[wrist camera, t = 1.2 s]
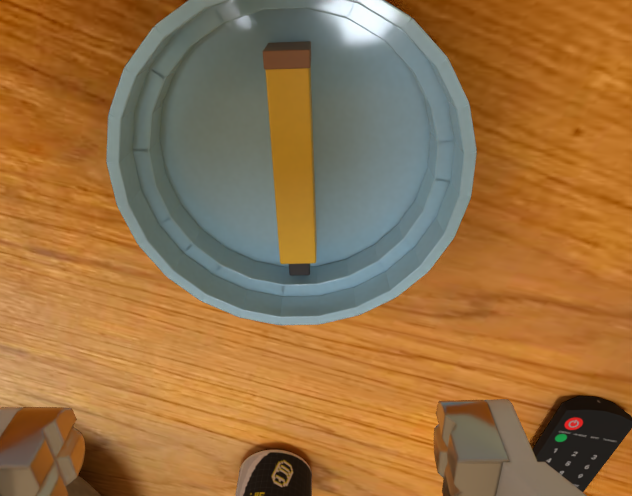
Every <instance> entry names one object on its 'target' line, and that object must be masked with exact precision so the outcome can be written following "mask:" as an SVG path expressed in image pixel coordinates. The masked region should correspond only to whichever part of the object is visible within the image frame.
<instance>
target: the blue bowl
mask: <svg viewBox="0 0 632 496" xmlns="http://www.w3.org/2000/svg"><path fill="white" fill-rule="evenodd" d="M307 41H310V42H311V90H312V119H313V148H314V177H315V205H316V234H317V253H316V263H310V275H294V276H291V275H289V264H281V263H280V255H279V242H278V229H277V216H276V203H275V190H274V177H273V164H272V150H271V137H270V124H269V111H268V98H267V85H266V72H265V69H264V65H263V50H264V49H265V47H266V46H267V44H268V43H276V42H307ZM476 151H477V148H476V142H475V135H474V129H473V122H472V116H471V109H470V105H469V101H468V99H467V97H466V95H465V93H464V91H463V88H462V86H461V84H460V82H459V80H458V78H457V76H456V74H455V71H454V69H453V67H452V65H451V63H450V61H449V59H448V58H447V56H446V55H445V54H444V52H443V51H442V50H441V49H440V48H439V47H438V46H437V45H436V44H435V42H434V41H433V40H432V39H431V38H430V37H429V36H428V35H427V33H426V32H425V31H424V30H423V29H422V28H421V27H420V26H419V24H418V23H417V22H416V21H415V20H414V19H413V18H412V17H411V16H409V15H408V14H406V13H404V12H403V11H401V10H400V9H398V8H396V7H395V6H393V5H391V4H390V3H388V2H387V1H385V0H188V1H187V2H185V3H184V4H183V5H181V6H180V7H178V8H177V9H176V10H174V11H173V12H172V13H170V14H169V15H168V16H166V17H165V18H164V19H162V20H161V21H160V22H158V23H157V24H156V25H155V26H154V27H153V28H152V29H151V31H150V32H149V33H148V35H147V36H146V38H145V39H144V40H143V42H142V43H141V45H140V46H139V47H138V49H137V50H136V51H135V53H134V54H133V56H132V57H131V58H130V60H129V61H128V63H127V64H126V65H125V68H124V69H123V72H122V75H121V78H120V81H119V84H118V86H117V89H116V92H115V95H114V98H113V101H112V104H111V107H110V110H109V115H108V132H107V166H108V171H109V175H110V179H111V183H112V187H113V191H114V195H115V200H116V204H117V206H118V208H119V210H120V212H121V214H122V216H123V218H124V220H125V222H126V223H127V225H128V227H129V229H130V231H131V233H132V235H133V236H134V238H135V240H136V242H137V244H139V246H140V248H141V249H142V250H143V251H144V252H145V253H146V254H147V255H148V257H149V258H150V259H151V260H152V261H153V262H154V263H155V264H156V265H157V267H158V268H159V269H160V270H161V271H162V272H163V273H164V274H165V276H167V277H168V278H169V279H170V280H172V281H173V282H175V283H176V284H178V285H179V286H180V287H182V288H183V289H185V290H186V291H187V292H189V293H190V294H192V295H193V296H195V297H196V298H197V299H199V300H200V301H201V300H202V302H204V303H207V304H209V305H211V306H214V307H216V308H218V309H221V310H223V311H226V312H228V313H230V314H233V315H235V316H237V317H239V316H240V318H245V319H250V320H255V321H260V322H265V323H271V324H276V325H317V324H324V323H328V322H332V321H337V320H341V319H345V318H349V317H354V316H358V315H359V314H360V315H361V314H363V313H365V312H367V311H369V310H371V309H373V308H375V307H377V306H379V305H382V304H384V303H386V302H388V301H390V300H392V299H394V298H396V297H398V296H399V295H400V294H401V293H403V292H404V291H405V290H406V289H408V288H409V287H410V286H411V285H413V284H414V283H415V282H416V281H417V280H419V279H420V278H421V277H422V276H424V275H425V274H426V273H427V272H428V271H429V270H430V269H431V268H432V266H433V265H434V264H435V262H436V261H437V260H438V258H439V257H440V256H441V255H442V253H443V252H444V251H445V249H446V248H447V247H448V245H449V244H450V243H451V241H452V240H453V239H454V237H455V235H456V232H457V230H458V227H459V225H460V223H461V220H462V218H463V215H464V213H465V211H466V208H467V206H468V203H469V201H470V199H471V195H472V187H473V179H474V171H475V163H476V155H477V152H476Z"/></svg>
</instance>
